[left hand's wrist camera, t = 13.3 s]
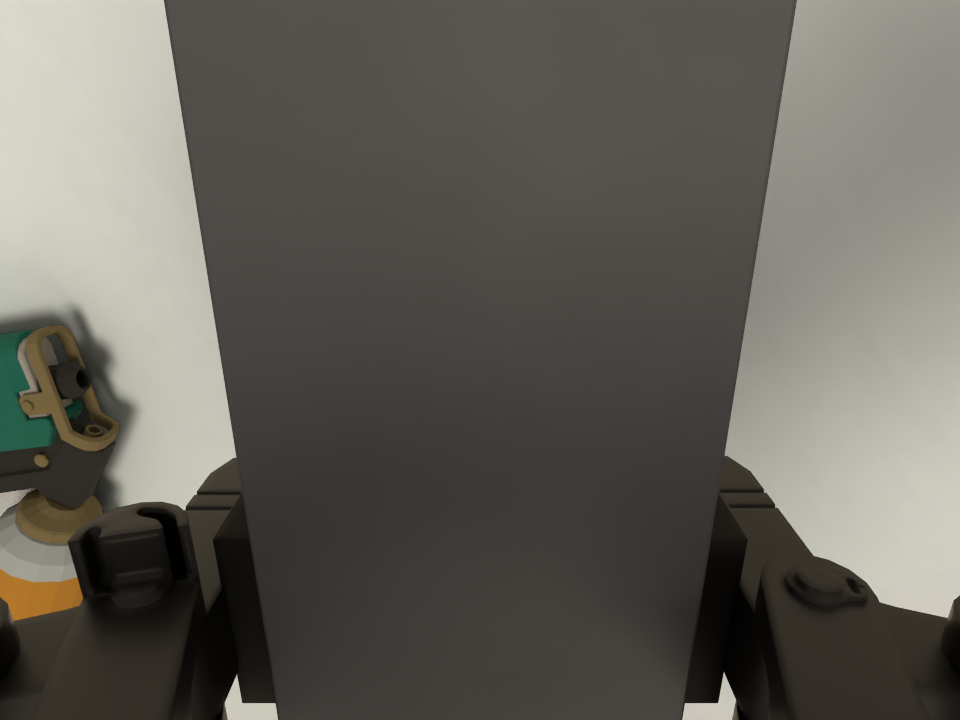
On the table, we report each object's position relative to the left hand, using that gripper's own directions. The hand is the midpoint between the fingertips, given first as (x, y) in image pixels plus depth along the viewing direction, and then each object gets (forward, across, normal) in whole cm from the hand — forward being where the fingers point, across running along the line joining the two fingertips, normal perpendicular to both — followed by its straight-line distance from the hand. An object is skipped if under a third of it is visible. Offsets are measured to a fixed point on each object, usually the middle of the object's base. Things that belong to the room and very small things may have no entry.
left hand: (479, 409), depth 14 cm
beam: (+1, 0, -20) cm, 20 cm away
